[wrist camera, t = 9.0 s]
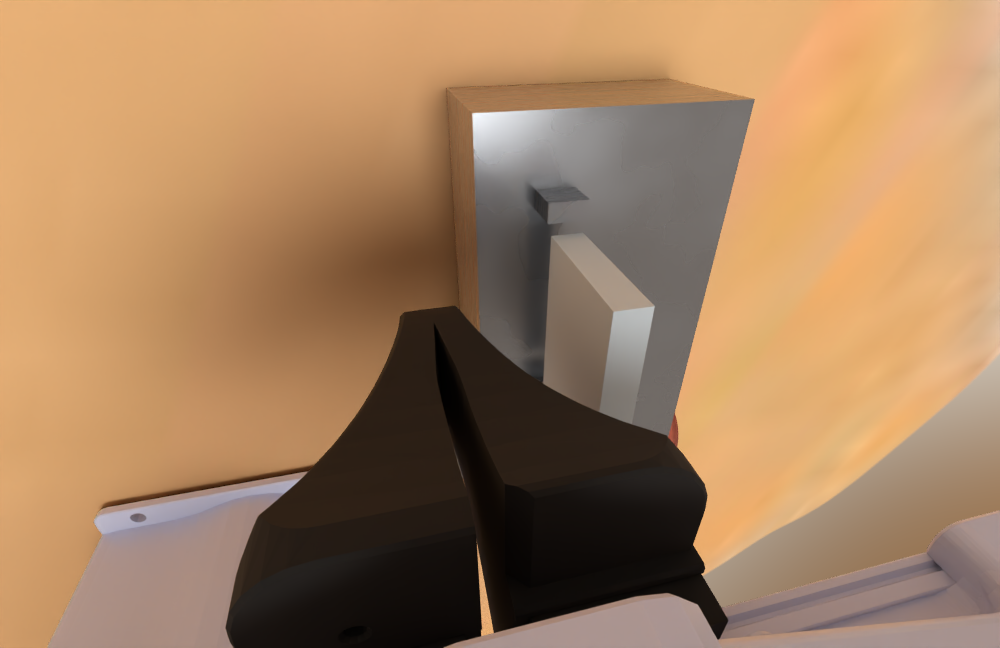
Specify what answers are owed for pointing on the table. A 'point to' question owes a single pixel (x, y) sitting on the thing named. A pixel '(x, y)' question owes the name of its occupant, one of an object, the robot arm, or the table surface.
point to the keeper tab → (594, 329)
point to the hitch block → (593, 207)
